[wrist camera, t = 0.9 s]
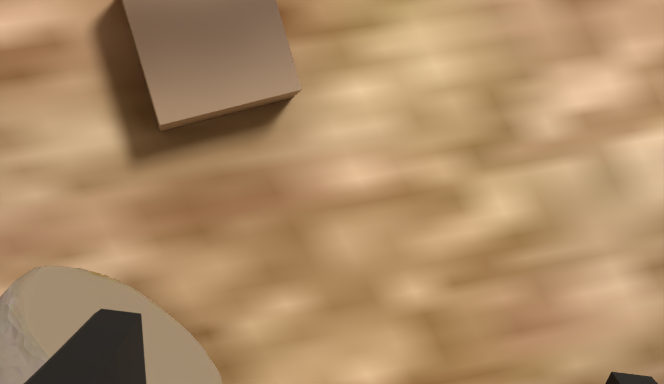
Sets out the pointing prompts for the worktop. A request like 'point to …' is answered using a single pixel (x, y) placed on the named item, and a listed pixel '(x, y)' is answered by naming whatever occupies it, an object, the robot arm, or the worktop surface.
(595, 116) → the worktop surface
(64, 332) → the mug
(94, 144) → the worktop surface
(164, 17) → the walnut tile
